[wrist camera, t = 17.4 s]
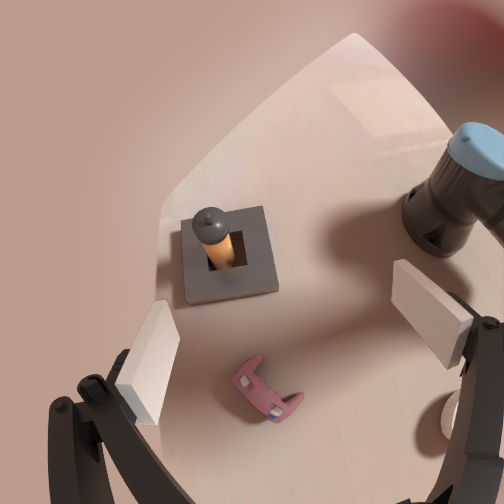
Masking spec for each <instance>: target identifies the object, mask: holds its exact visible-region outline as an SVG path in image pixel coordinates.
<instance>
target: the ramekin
mask: <svg viewBox="0 0 504 504" xmlns="http://www.w3.org/2000/svg"><path fill="white" fill-rule="evenodd" d="M460 390H461V389H459V390H457V391H456V392H454V393H453V394H452V395H451V396H450V398H449V399H448V400H447V402H446V403H445V405H444V408H443V411H442V414H441V430H442V433H443V434H444V436H445V437H446V438H447V439H449V440H450V437H451V434H452V430H453V425H454V421H455V417H456V412H457V407H458V402H459V396H460Z"/></svg>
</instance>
